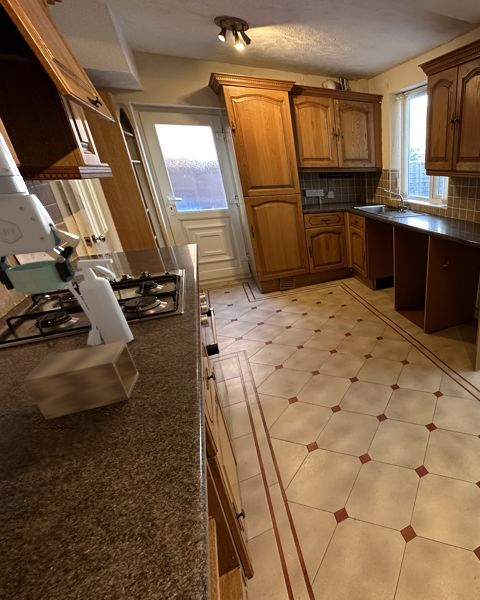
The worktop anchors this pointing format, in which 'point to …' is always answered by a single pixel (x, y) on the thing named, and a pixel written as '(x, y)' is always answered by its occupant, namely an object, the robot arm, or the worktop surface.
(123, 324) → the fire extinguisher
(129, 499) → the worktop surface
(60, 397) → the wooden box
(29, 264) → the bowl
